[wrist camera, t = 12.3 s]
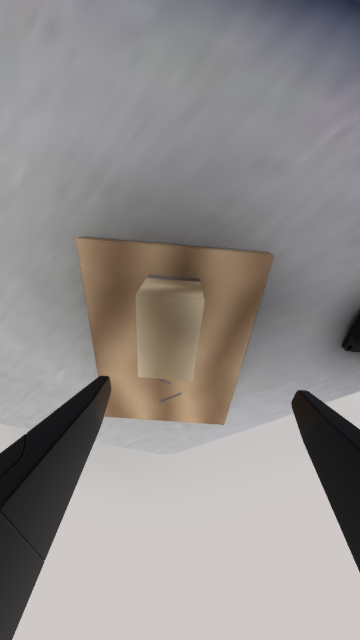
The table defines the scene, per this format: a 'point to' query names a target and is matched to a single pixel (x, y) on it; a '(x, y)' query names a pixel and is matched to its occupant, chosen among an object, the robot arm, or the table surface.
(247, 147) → the table surface
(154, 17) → the table surface
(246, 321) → the light brown wooden board
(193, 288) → the block
